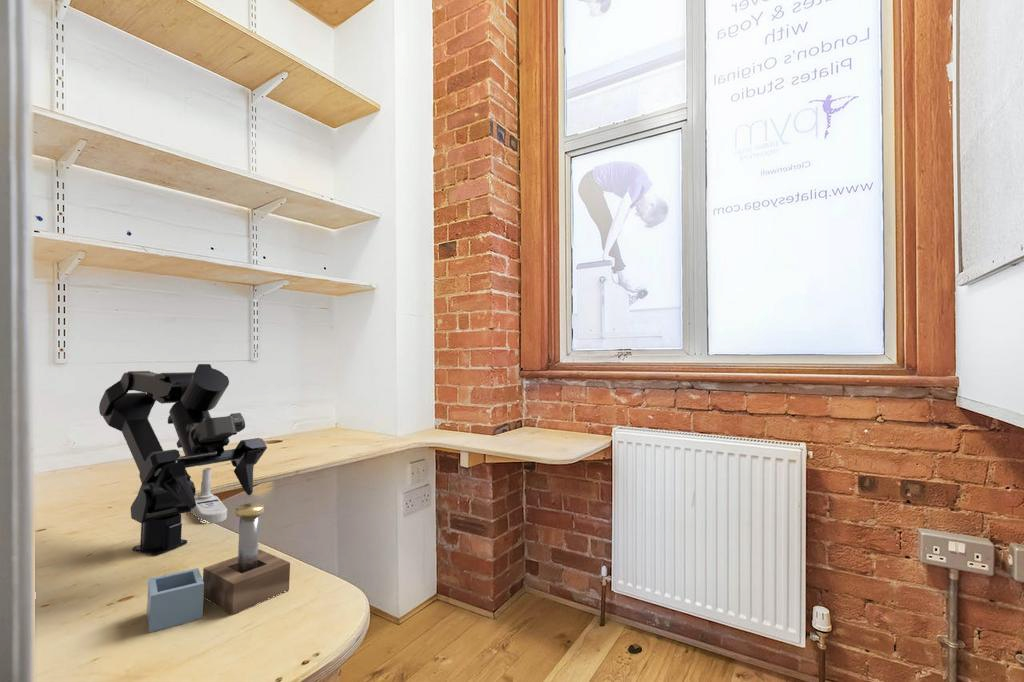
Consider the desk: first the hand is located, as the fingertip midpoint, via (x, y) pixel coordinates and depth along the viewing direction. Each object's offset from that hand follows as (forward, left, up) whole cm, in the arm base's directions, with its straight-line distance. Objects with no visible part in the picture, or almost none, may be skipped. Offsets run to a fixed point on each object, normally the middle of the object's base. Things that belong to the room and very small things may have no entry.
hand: (223, 500), depth 82 cm
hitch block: (+8, -2, -13) cm, 16 cm away
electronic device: (-30, +24, -14) cm, 41 cm away
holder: (+3, -11, -13) cm, 17 cm away
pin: (+8, -2, -13) cm, 16 cm away
